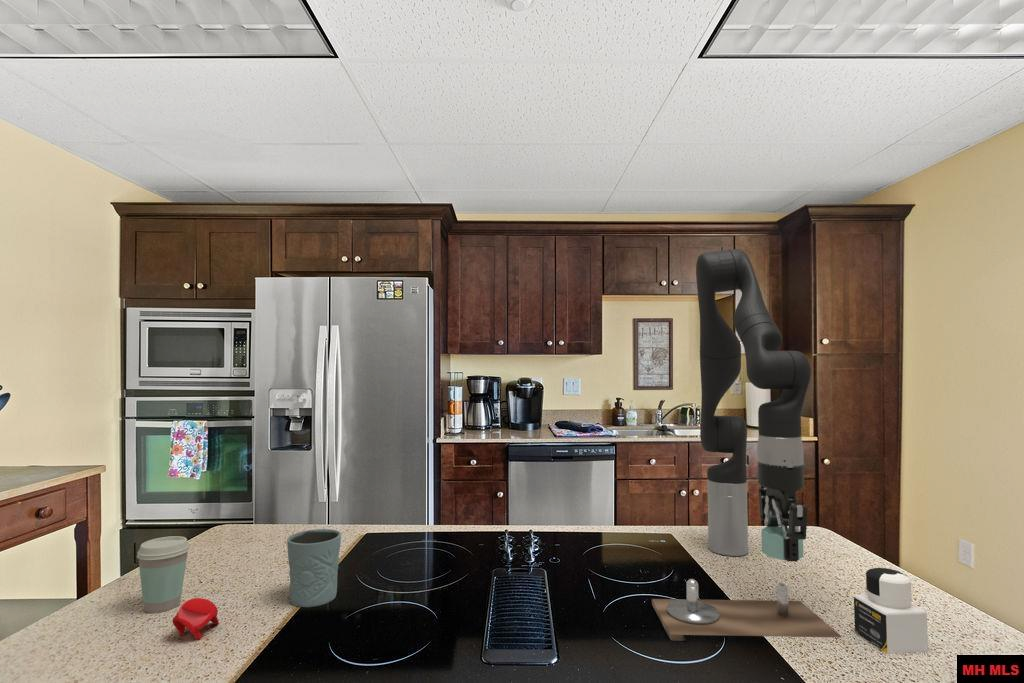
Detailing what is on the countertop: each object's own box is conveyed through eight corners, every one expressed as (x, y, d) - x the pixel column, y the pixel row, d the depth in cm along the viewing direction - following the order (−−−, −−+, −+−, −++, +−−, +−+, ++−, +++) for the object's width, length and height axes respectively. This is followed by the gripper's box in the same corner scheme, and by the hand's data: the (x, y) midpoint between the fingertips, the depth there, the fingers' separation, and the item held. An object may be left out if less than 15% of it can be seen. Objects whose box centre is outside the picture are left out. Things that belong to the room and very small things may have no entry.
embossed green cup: (300, 613, 100) (302, 547, 101) (276, 598, 107) (277, 535, 107) (350, 596, 108) (351, 535, 108) (324, 583, 114) (325, 525, 115)
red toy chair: (191, 628, 87) (221, 597, 92) (164, 611, 89) (195, 581, 94) (201, 653, 92) (230, 622, 97) (175, 637, 94) (204, 607, 98)
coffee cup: (198, 600, 106) (200, 537, 106) (157, 619, 98) (159, 551, 98) (166, 594, 108) (168, 533, 109) (123, 612, 100) (125, 546, 101)
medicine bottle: (854, 637, 91) (851, 564, 92) (893, 635, 92) (891, 563, 93) (886, 660, 84) (883, 580, 85) (929, 658, 85) (926, 579, 85)
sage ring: (757, 548, 101) (757, 526, 102) (791, 548, 101) (790, 526, 101) (772, 560, 95) (772, 537, 95) (808, 560, 95) (808, 537, 95)
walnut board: (651, 604, 104) (651, 598, 104) (800, 606, 103) (800, 600, 103) (670, 640, 90) (670, 634, 90) (842, 643, 89) (842, 637, 89)
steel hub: (661, 602, 103) (661, 569, 103) (709, 603, 102) (709, 570, 103) (674, 624, 94) (673, 589, 94) (727, 625, 93) (726, 589, 94)
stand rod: (775, 612, 98) (774, 581, 99) (785, 612, 98) (784, 581, 99) (780, 616, 97) (779, 585, 97) (790, 617, 97) (789, 585, 97)
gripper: (743, 453, 106) (745, 540, 105) (777, 468, 92) (780, 569, 91) (782, 453, 106) (784, 541, 105) (822, 468, 92) (825, 569, 91)
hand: (782, 553), depth 98 cm, fingers closed on sage ring, 6 cm apart
